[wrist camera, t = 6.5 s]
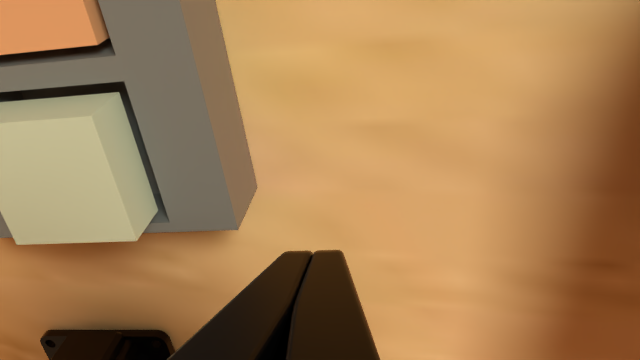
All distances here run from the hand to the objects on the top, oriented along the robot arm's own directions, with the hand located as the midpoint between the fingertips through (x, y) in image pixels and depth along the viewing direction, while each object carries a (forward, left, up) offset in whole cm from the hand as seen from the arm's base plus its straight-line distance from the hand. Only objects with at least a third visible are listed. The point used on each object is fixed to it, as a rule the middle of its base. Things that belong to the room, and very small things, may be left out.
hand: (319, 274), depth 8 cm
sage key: (-2, +10, -9) cm, 14 cm away
